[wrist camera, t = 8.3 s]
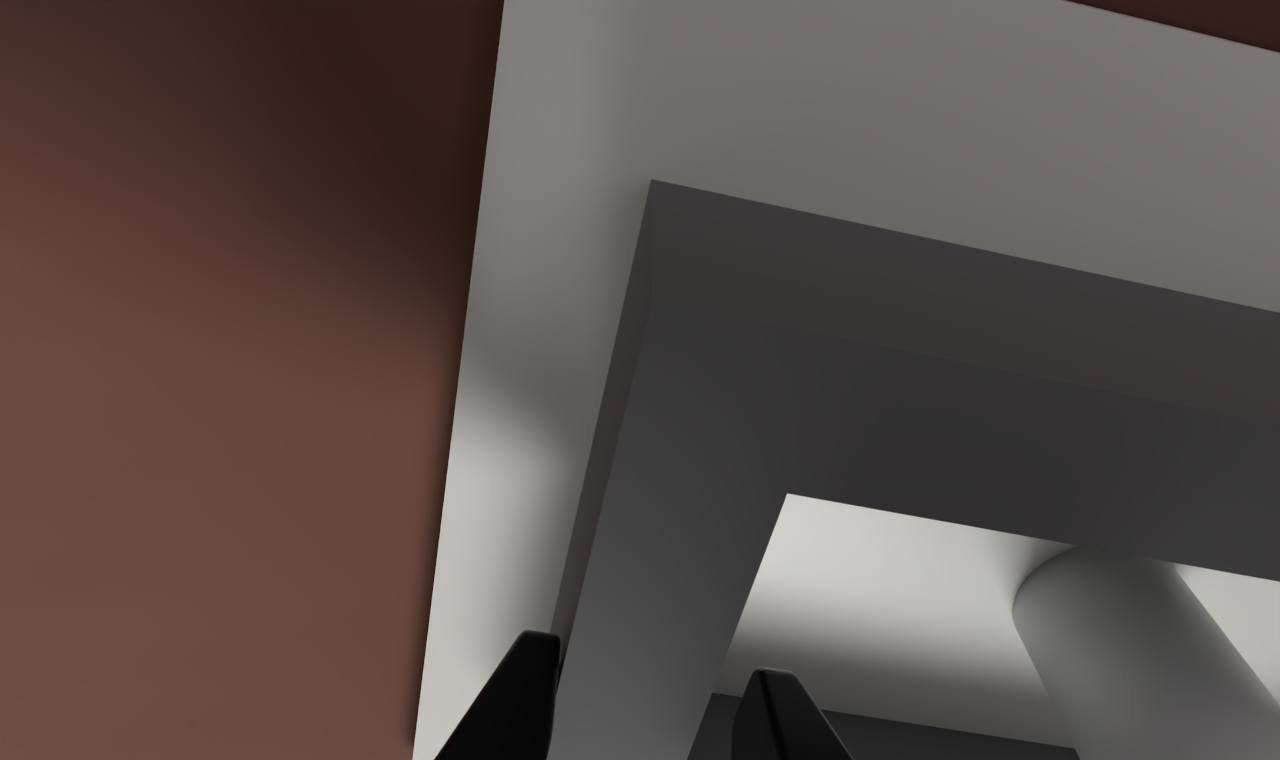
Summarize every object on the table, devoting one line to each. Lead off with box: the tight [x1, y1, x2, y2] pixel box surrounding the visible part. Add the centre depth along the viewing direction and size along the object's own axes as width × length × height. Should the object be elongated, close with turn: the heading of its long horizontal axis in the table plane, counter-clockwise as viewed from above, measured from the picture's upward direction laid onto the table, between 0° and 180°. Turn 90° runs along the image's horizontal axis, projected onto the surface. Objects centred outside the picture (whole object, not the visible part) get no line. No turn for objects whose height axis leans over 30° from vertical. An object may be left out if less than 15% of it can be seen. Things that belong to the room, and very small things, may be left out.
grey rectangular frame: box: [547, 179, 1280, 760], centre depth 10 cm, size 14×9×3 cm, turn 78°
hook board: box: [413, 0, 1280, 760], centre depth 10 cm, size 18×14×6 cm
